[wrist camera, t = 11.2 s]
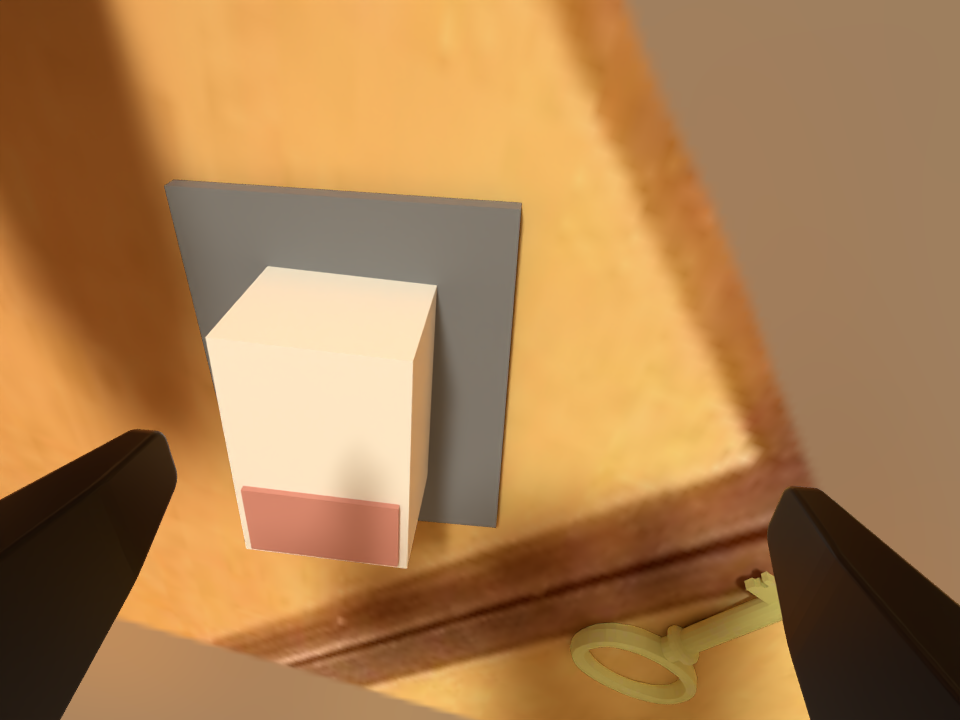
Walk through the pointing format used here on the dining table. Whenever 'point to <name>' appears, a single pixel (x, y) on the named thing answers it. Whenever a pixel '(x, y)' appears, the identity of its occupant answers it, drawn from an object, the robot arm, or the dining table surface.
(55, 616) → the robot arm
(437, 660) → the dining table surface
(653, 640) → the key
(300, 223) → the mat
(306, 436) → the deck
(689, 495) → the dining table surface
